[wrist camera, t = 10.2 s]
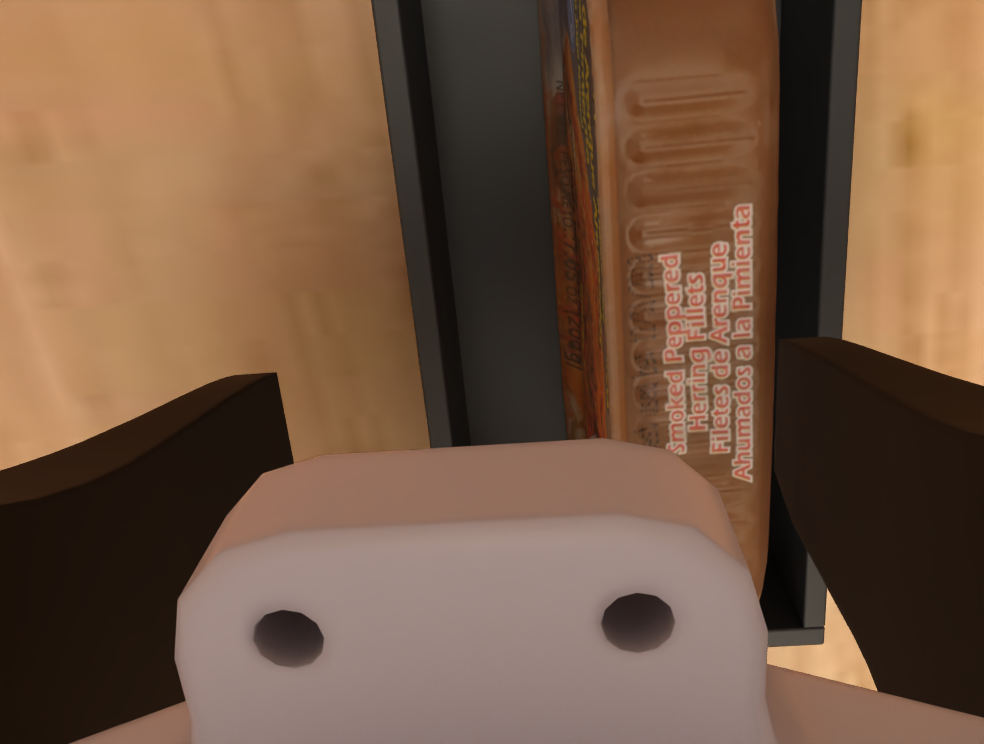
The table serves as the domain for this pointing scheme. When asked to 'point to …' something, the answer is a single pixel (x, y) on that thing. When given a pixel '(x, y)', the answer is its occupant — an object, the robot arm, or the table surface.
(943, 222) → the table surface
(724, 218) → the tin
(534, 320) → the bin
